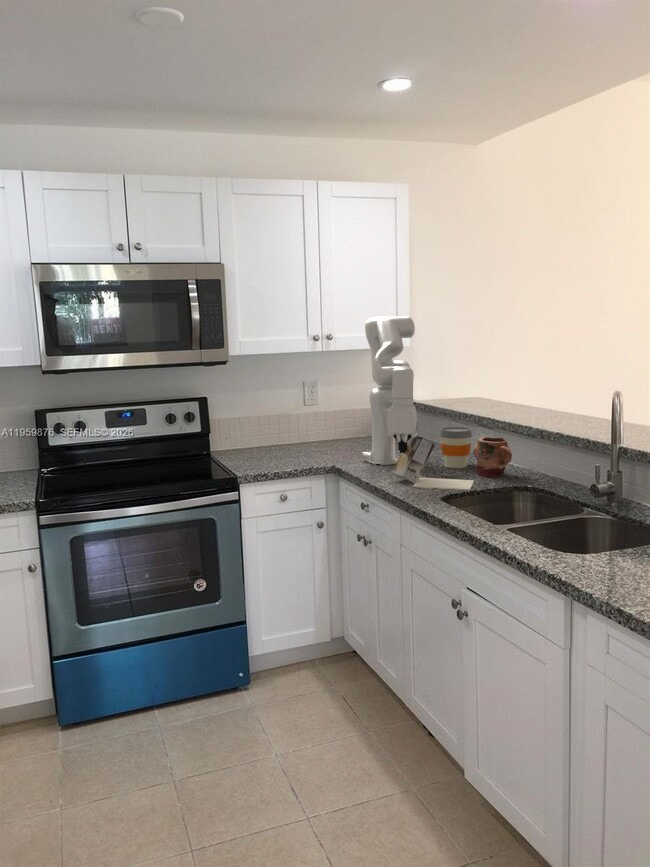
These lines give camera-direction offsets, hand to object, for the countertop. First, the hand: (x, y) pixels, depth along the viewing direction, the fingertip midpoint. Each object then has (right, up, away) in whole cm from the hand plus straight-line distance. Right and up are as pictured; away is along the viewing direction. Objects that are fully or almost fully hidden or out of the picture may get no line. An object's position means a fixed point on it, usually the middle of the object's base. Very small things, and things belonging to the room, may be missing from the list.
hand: (402, 452), depth 258 cm
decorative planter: (+35, -9, +11) cm, 38 cm away
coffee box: (0, -10, +2) cm, 10 cm away
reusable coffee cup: (+25, -6, +29) cm, 39 cm away
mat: (+14, -11, -3) cm, 19 cm away
